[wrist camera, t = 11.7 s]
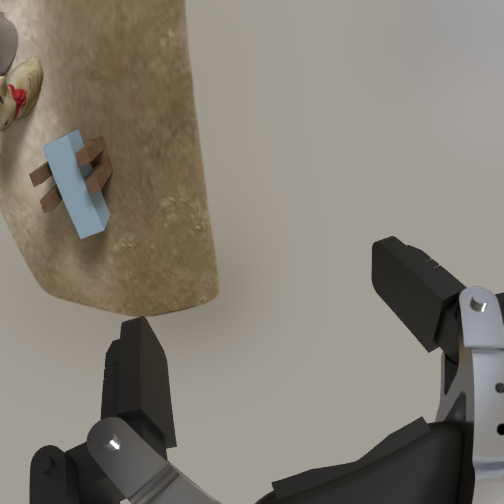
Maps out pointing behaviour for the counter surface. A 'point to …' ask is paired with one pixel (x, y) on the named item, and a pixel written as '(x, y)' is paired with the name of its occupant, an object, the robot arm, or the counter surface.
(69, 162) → the rail
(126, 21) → the counter surface
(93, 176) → the wooden stool base
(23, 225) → the counter surface
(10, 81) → the chocolate bunny
